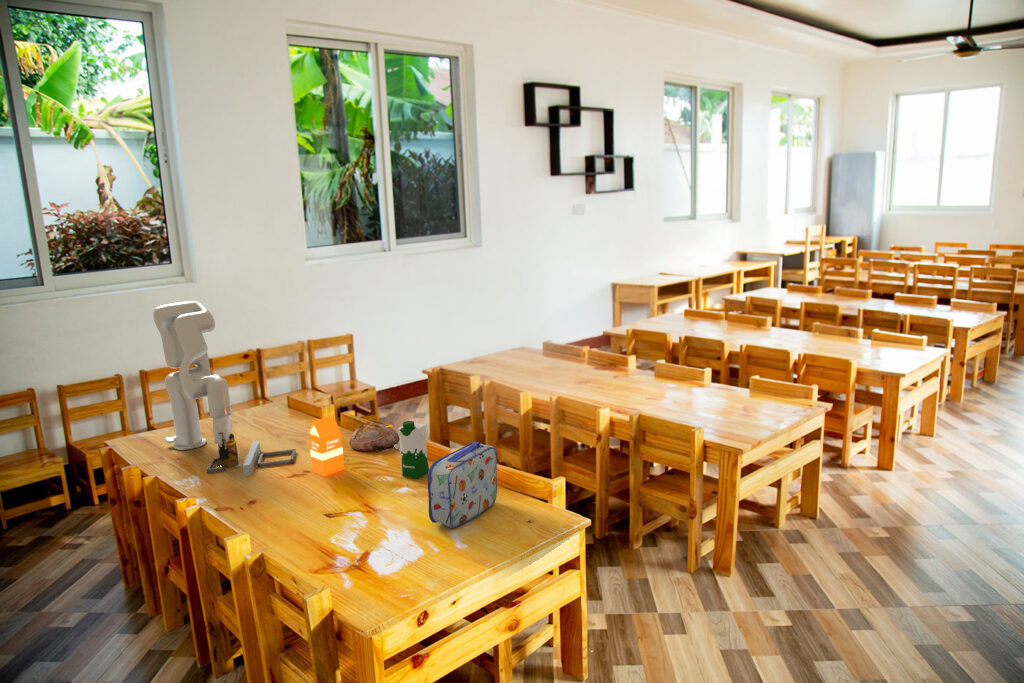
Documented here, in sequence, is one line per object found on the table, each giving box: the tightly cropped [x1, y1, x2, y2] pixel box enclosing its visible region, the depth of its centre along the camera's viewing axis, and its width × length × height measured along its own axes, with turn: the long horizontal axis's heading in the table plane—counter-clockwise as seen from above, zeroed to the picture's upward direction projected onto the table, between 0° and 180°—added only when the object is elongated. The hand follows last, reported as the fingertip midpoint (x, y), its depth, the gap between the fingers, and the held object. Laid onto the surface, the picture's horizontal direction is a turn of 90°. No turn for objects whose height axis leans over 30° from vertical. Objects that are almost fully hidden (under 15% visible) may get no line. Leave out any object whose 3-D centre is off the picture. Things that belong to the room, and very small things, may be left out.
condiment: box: [214, 433, 242, 470], centre depth 270 cm, size 7×8×12 cm
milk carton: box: [396, 420, 430, 480], centre depth 253 cm, size 9×9×20 cm
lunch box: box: [427, 441, 498, 529], centre depth 219 cm, size 28×10×22 cm, turn 148°
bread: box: [349, 421, 400, 453], centre depth 286 cm, size 16×20×10 cm
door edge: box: [242, 440, 262, 477], centre depth 273 cm, size 2×26×4 cm, turn 12°
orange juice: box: [308, 415, 345, 477], centre depth 260 cm, size 8×9×20 cm
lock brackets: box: [205, 448, 297, 474], centre depth 273 cm, size 31×12×2 cm, turn 102°
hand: (226, 454), depth 270 cm, fingers open, 9 cm apart
